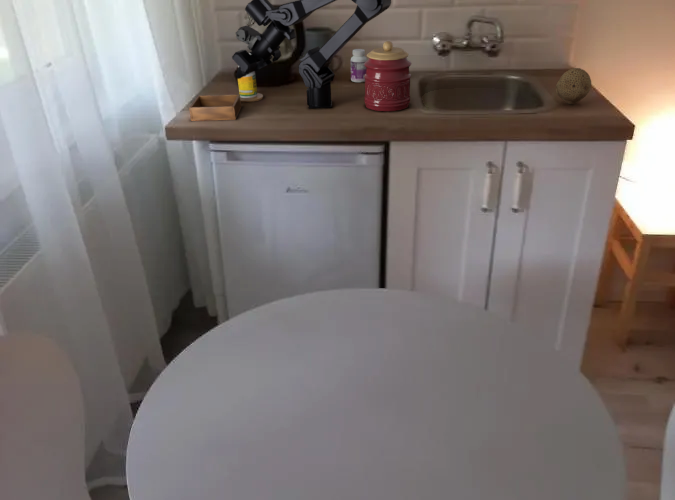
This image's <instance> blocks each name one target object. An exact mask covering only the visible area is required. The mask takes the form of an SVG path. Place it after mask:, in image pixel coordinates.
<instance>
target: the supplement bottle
mask: <svg viewBox="0 0 675 500" xmlns="http://www.w3.org/2000/svg"><path fill="white" fill-rule="evenodd" d="M237 66H238V65H237ZM238 68H239V66H238ZM237 84H238V85H237V87H238V94H240V97H241V98H245V99H247V98H254V97H256V96H257V93H258V87H257V77H256V71H255V72H254V71H253V72H251V73H249V74H247V75H245V76H243V77H241V78H239V79H238V78H237Z"/></svg>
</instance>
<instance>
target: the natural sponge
mask: <svg viewBox="0 0 675 500" xmlns="http://www.w3.org/2000/svg"><path fill="white" fill-rule="evenodd" d="M591 88H592V79H591V76H590V75H589V73H588V72H587V71H586V69H585V70H584V69H582V68H581V67H573V68H570V69H567V70H566V71H565V72H564V73H563V74H562V75H561V76H560V77H559V79H558V81H557V83H556V85H555V95H556V96H558V97H559V98H560V99H561V100H562V101H563V102H565V104H568V105H575V104H577V103H579V102H580V101H581V100H583V99H584V98H586V97H587V95H588V94H589V93H590V91H591Z"/></svg>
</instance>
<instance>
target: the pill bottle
mask: <svg viewBox="0 0 675 500" xmlns="http://www.w3.org/2000/svg"><path fill="white" fill-rule="evenodd" d="M367 60H368V57H367V56H366V50H365V49H364V48H354V49H352V56H351V57H350V81H351V82H354V83H365V78H364V75H365V74H366V67H365V66H364V63H365V62H366V61H367Z"/></svg>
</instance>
